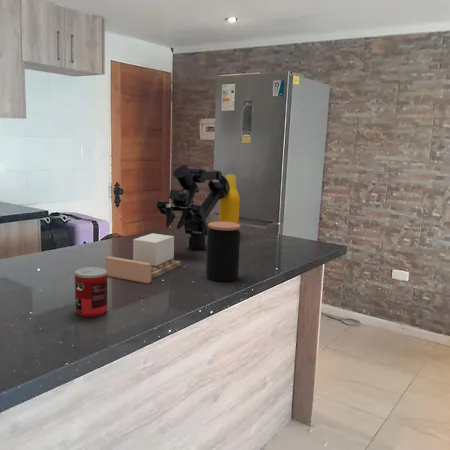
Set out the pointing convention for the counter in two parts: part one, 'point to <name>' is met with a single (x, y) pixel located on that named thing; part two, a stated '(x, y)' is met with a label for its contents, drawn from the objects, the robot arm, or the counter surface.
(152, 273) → the roller bed
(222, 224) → the coffee jar
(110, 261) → the brick stop
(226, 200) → the beer bottle
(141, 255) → the white box on pallet
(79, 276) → the canned food
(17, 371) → the counter surface
